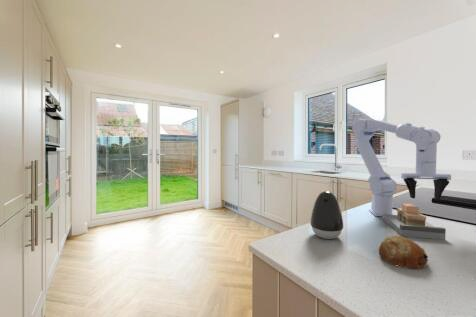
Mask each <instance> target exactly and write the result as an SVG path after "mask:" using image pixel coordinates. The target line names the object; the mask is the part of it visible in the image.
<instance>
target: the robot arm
mask: <svg viewBox="0 0 476 317" xmlns="http://www.w3.org/2000/svg"><path fill="white" fill-rule="evenodd" d="M351 130H352V132H353V134H354V143H355V145H356V147H357V150H358V152H359V153H360V156H361V159H362V160H363V162H364V165H365V167H366V168H367V171H368V173H369V175H370V176H369V178H368V180H367V181H368V184H369V189H370V191H371V193H372V196H371V205H370V206H371V207H370V208H369V209H368V210H369V211H370V212H371V213H372V215H373V216H374V217H375V216H376V217H383V214H388V215H395V214H394V213H393V209H394V208H393V207H394V206H393V205H394V202H393V201H394V193H395V192H396V191H397V189H398V188H397V187H398V184H397V182H396V181H395V180H394V179H393V178H392V176H391V175H390V174H388V173H387V172H386V171H385V170H384V168H383V167H382V165H381V163H380V161H379V159H378V156H377V155H376V152H375V150H374V149H373V146H372V145H371V143H370V140H371V138H372V137H373V136H374V135H375V134H376V132H377V131H380V130H382V131H385V132H389V133H392V134H395V136H396V137H397V138H398V139H402V140H406V141H409V142H411V143H414V144H415V148H416V150H415V152H416V153H415V172H408V173H407V172H405V173H404V172H403V173H402V172H401V175H400V176H401V179H403V182H404V183H405V185H406V187H407V189H408V193H409V197H410V198H411V199H416V187H417V183H418V181H417V180H432V182H433V185H434V186H433V187H434V194H433V196H434V199H436V200H441V197H442V195H443V192H444V190H445V189H446V188H447V186H449V184H450V181H451V180H452V174H450V173H437V155H438V154H437V146H438V145H437V144H438V143H439V142H440V140H441V134H440V132H439V131H437V130H436V129H425V127H424V126H415V125H412V123H410V122H406V123H403V124H399V125H398V124H393V123H390V122H387V121H384V120H379V119H378V120H376V119H364V118H358V119H356V120H355V121H354V123H353V126H352V127H351Z"/></svg>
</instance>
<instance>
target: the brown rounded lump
mask: <svg viewBox="0 0 476 317" xmlns="http://www.w3.org/2000/svg"><path fill="white" fill-rule="evenodd" d="M378 254H379V256H380V258H381V259H382V261H384V260H385V261H387V262H389V263H388V264H390V263H391V264H390V265H392V264H394V265H393V266H395V265H398V266H401V267H400V268H404V267H405V268H404V269H409V268H410V269H409V270H419V268H421V269H423V268H424V267H426V265H427V264H428V261H429V259H428V258H429V256H428V255H427V253H426V250H425V249H424V248H423V247H422V246H420V245H419V244H418V243H416V242H415V241H413V240H412V239H409V238H407V237H405V236H401V235H400V234H398V235H396V234H395V235H390V236H388V237H386V238H385V239H383V240H382V241H381V243H380V245H379V247H378ZM385 261H384V262H385ZM387 262H386V263H387ZM398 266H397V267H398Z"/></svg>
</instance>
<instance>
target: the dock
mask: <svg viewBox="0 0 476 317" xmlns="http://www.w3.org/2000/svg"><path fill="white" fill-rule="evenodd" d="M382 220H383V221H385V223H386V224H388V226H390V227H391V228H392V229H393V230H394V231H395V232H397V233H398V235H399V236H402V237H409V238H410V237H412V238H424V239H432V240H433V239H434V240H445V241H446V233H447V232H446V231H447V230H446V227H440V226H439V227H438V226H434V225H432V224H431V223H429V222H427V220H426V221H425V226H416V225H405V223H403V222H402V221H401V220H399V219H398V218H397V214H394V215H388V214H383V216H382Z"/></svg>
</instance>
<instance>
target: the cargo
mask: <svg viewBox="0 0 476 317" xmlns="http://www.w3.org/2000/svg"><path fill="white" fill-rule="evenodd" d="M401 208H402V211H404V212H406V213H414V214H418V212H419V208H420V207H419V206H418V205H416V204H414V203H405V202H404V203H401Z"/></svg>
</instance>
